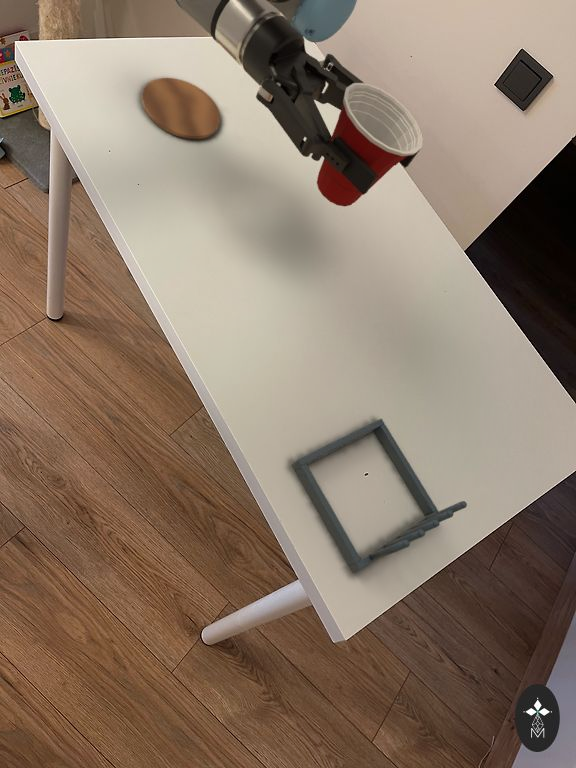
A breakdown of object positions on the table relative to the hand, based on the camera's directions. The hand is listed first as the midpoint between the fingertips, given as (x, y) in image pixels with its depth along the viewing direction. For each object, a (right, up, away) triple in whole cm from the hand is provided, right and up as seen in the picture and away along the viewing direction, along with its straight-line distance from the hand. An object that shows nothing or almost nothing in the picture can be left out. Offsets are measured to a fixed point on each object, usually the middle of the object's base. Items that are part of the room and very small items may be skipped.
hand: (392, 171), depth 71 cm
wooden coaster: (-29, +17, +20) cm, 39 cm away
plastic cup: (-6, 0, +7) cm, 9 cm away
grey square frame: (-3, -39, +3) cm, 39 cm away
